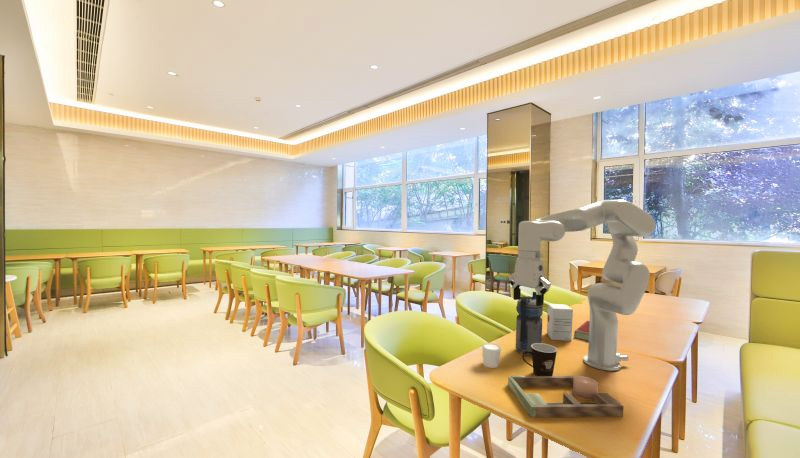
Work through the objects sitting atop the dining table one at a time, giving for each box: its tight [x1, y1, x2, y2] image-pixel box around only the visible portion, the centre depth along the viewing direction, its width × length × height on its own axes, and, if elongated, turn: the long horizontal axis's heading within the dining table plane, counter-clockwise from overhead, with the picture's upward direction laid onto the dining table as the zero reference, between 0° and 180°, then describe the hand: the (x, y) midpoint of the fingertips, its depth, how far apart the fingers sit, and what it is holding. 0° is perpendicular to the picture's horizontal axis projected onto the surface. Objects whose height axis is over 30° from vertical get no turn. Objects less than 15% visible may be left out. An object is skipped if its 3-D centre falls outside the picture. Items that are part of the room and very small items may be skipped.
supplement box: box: [546, 303, 574, 342], centre depth 163 cm, size 9×9×15 cm
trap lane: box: [507, 374, 625, 418], centre depth 108 cm, size 27×18×3 cm
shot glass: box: [481, 343, 502, 369], centre depth 132 cm, size 7×7×7 cm
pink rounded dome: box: [572, 375, 599, 401], centre depth 111 cm, size 7×7×4 cm
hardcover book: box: [573, 320, 590, 342], centre depth 167 cm, size 12×21×4 cm, turn 138°
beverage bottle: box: [515, 291, 544, 357], centre depth 143 cm, size 10×13×25 cm
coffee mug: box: [521, 343, 558, 376], centre depth 124 cm, size 12×9×10 cm
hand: (527, 302), depth 124 cm, fingers open, 9 cm apart
